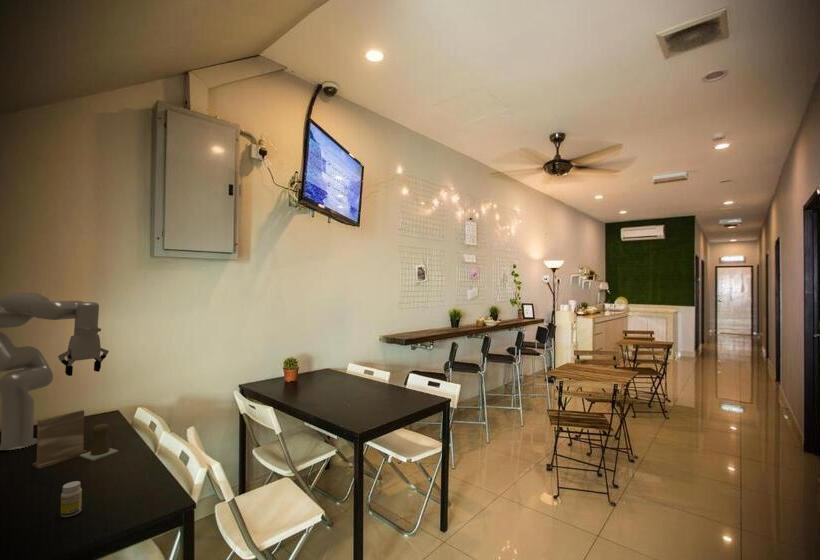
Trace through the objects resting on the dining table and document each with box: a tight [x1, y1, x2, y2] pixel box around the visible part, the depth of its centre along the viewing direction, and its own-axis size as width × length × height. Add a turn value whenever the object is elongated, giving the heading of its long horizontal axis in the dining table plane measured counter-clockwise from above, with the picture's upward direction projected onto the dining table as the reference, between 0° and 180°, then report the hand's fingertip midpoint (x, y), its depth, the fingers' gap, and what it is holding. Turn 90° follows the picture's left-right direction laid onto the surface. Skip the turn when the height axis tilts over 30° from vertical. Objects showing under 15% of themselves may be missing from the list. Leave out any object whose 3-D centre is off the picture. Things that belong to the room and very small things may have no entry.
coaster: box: [79, 447, 119, 462], centre depth 156 cm, size 9×9×1 cm
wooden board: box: [32, 409, 88, 469], centre depth 151 cm, size 5×15×17 cm, turn 155°
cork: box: [90, 423, 110, 456], centre depth 156 cm, size 6×6×11 cm
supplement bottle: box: [60, 480, 83, 518], centre depth 115 cm, size 5×5×8 cm
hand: (83, 373), depth 162 cm, fingers open, 9 cm apart
